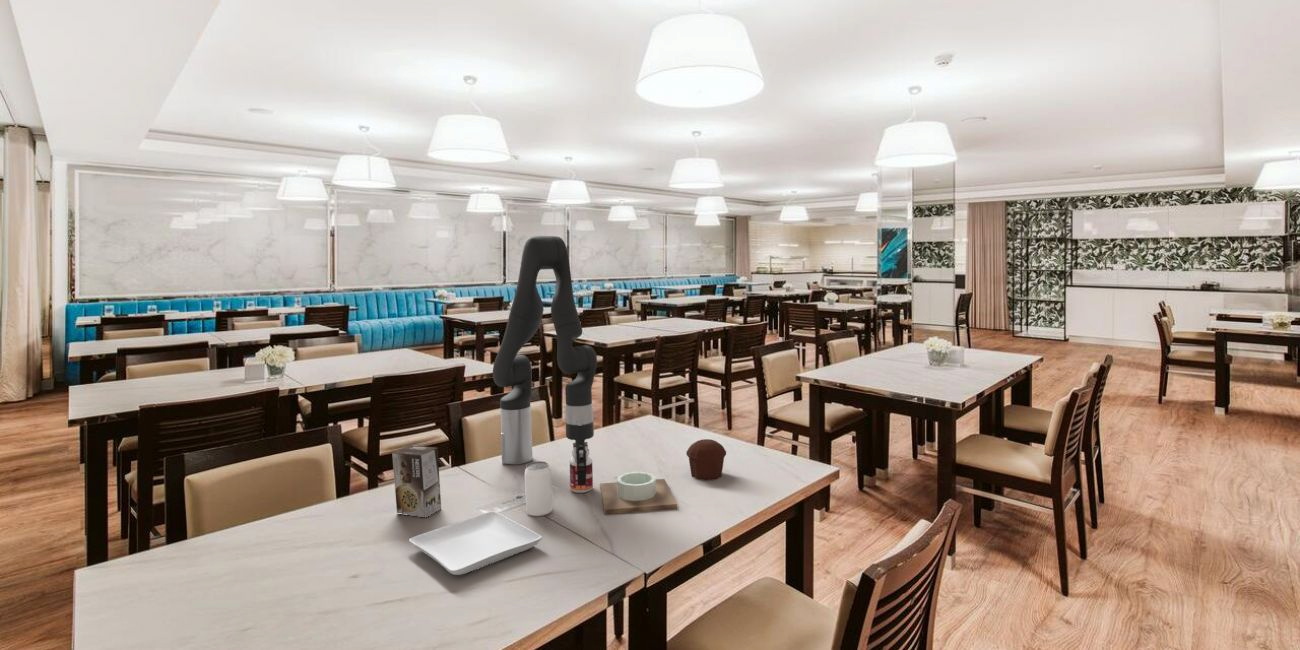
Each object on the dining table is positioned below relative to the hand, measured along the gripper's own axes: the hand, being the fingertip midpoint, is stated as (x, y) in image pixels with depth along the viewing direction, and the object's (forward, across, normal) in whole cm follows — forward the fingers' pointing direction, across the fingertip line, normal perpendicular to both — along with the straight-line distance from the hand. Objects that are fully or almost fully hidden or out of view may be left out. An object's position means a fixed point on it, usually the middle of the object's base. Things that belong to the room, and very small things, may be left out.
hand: (581, 479), depth 165 cm
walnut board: (+3, +9, +14) cm, 17 cm away
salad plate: (+3, +31, -24) cm, 39 cm away
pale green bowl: (+2, +9, +14) cm, 17 cm away
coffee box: (+3, +7, -41) cm, 42 cm away
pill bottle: (+3, 0, 0) cm, 3 cm away
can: (+3, +13, -11) cm, 17 cm away
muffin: (+3, -4, +36) cm, 36 cm away
